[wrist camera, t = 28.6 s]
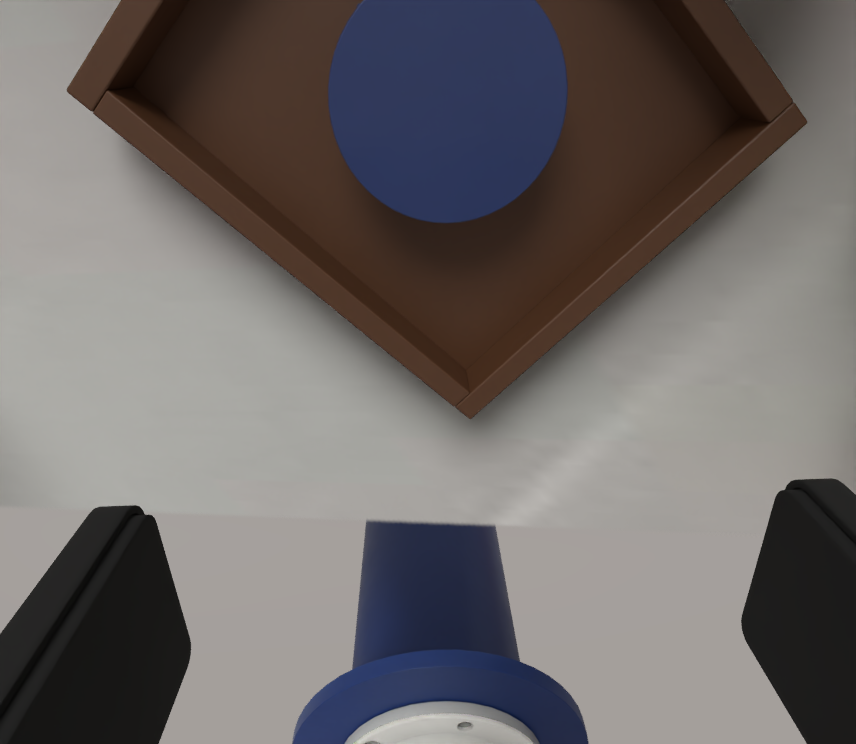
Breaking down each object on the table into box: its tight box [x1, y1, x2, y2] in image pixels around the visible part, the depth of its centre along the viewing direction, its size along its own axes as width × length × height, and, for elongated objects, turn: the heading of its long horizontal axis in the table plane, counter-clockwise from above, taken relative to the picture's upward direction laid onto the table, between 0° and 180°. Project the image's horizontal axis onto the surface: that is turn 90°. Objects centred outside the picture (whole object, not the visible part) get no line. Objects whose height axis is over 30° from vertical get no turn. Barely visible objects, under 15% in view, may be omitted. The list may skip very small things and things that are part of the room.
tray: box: [67, 0, 807, 419], centre depth 18 cm, size 16×14×2 cm
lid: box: [328, 0, 568, 223], centre depth 17 cm, size 6×6×2 cm
